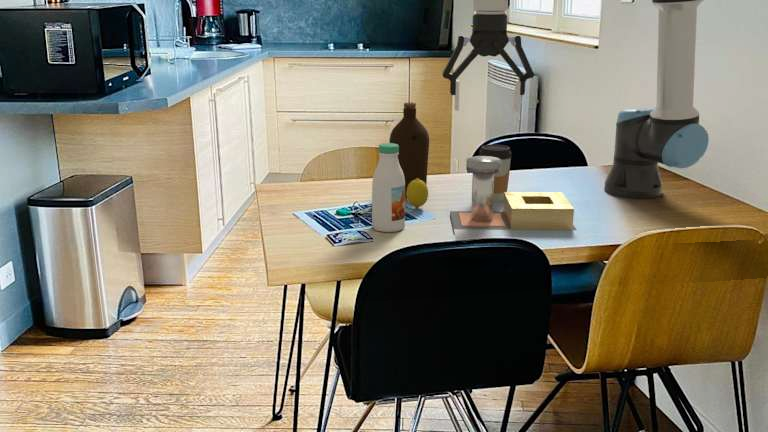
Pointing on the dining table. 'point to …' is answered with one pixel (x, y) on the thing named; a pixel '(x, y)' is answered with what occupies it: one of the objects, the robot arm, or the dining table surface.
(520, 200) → the light wooden flat block
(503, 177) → the coffee cup
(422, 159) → the olive oil
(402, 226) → the milk bottle
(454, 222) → the base mat
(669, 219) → the dining table surface
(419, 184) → the lemon
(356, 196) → the dining table surface
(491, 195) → the steel peg
